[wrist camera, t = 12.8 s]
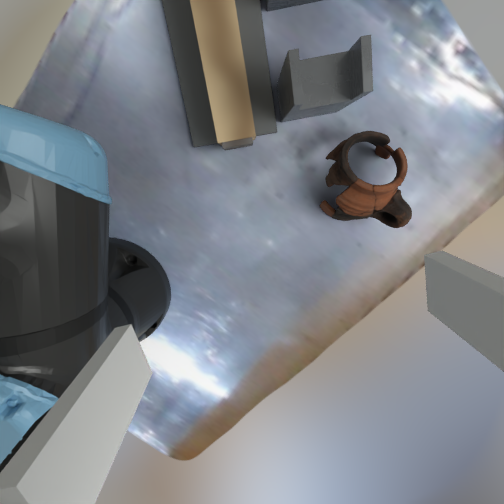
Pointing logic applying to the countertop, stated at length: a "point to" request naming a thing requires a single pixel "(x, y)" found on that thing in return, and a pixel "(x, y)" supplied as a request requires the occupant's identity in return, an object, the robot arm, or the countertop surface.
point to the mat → (193, 73)
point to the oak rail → (224, 71)
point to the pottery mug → (368, 185)
